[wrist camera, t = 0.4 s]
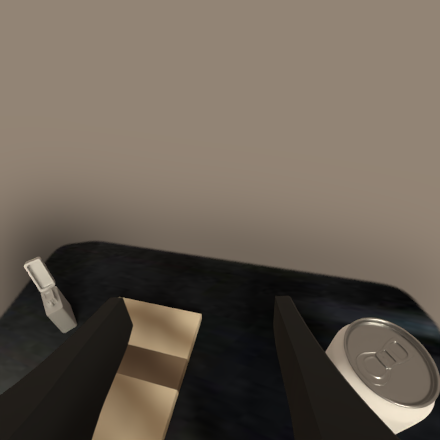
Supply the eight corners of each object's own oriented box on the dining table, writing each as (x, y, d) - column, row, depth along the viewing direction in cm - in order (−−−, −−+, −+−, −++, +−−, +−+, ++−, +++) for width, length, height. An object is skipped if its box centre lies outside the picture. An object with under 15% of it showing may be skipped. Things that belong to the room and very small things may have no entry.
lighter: (77, 325, 31) (48, 288, 26) (63, 333, 30) (29, 297, 25) (65, 290, 35) (37, 252, 30) (52, 296, 34) (21, 259, 29)
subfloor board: (49, 810, 12) (38, 827, 11) (-120, 684, 14) (-136, 692, 13) (202, 318, 31) (201, 313, 31) (121, 300, 34) (118, 296, 33)
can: (291, 389, 25) (317, 334, 17) (337, 359, 27) (378, 299, 19) (340, 469, 20) (405, 443, 13) (391, 426, 22) (473, 382, 15)
